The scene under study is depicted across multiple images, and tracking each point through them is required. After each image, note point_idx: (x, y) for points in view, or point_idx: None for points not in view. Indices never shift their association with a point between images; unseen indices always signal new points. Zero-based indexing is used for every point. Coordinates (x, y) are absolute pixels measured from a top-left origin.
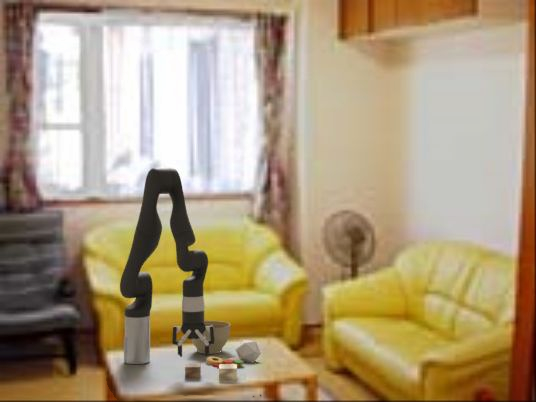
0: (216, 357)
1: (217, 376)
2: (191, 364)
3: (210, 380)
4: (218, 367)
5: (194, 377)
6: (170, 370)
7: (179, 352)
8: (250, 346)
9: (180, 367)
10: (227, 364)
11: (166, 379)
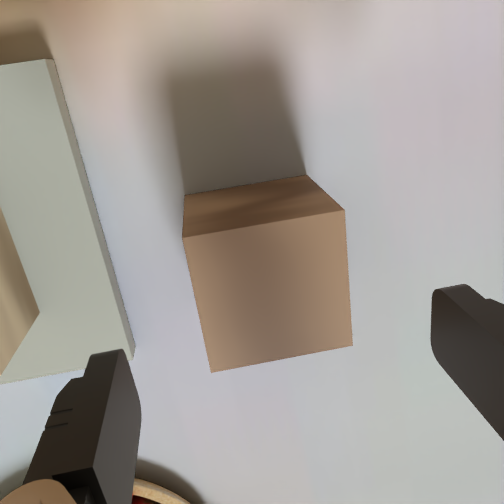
0: None
1: (47, 286)
2: (294, 322)
3: (64, 146)
4: None
5: (232, 196)
6: (441, 421)
7: (498, 320)
8: None
9: (385, 489)
10: None
11: (457, 208)
